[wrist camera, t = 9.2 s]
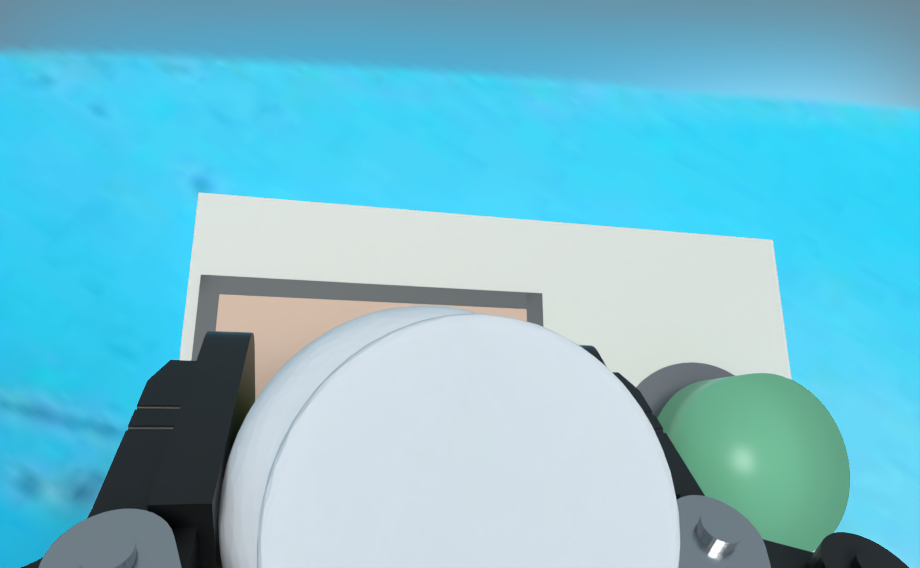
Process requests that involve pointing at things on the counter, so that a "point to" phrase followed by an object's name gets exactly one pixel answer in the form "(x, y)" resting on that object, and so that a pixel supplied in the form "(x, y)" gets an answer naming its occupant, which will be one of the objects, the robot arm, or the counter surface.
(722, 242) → the white board
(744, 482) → the button
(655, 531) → the supplement bottle
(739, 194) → the counter surface
